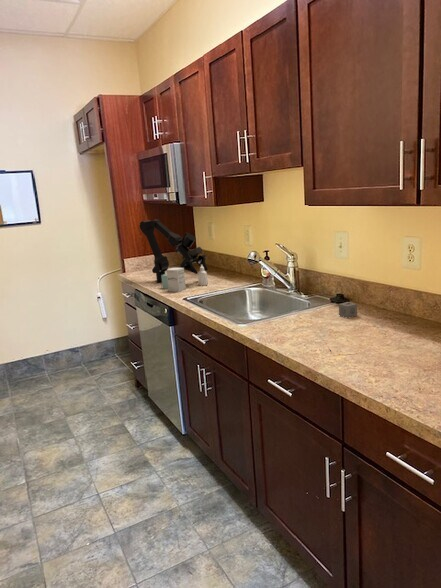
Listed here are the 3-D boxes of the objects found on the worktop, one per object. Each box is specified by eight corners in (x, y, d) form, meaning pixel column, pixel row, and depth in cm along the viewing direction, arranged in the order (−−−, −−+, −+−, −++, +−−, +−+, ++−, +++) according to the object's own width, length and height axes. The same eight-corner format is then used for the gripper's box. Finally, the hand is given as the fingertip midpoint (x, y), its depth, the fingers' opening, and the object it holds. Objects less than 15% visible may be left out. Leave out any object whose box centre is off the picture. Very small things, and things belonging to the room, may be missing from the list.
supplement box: (168, 291, 255) (165, 269, 253) (175, 288, 262) (173, 267, 259) (179, 292, 252) (177, 269, 249) (186, 289, 258) (184, 267, 255)
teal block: (162, 288, 265) (161, 275, 263) (168, 286, 269) (167, 273, 267) (168, 289, 262) (167, 275, 260) (174, 287, 266) (173, 274, 264)
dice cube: (357, 315, 184) (356, 303, 183) (348, 318, 182) (347, 306, 181) (347, 313, 188) (347, 301, 187) (339, 315, 186) (338, 304, 185)
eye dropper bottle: (201, 286, 263) (199, 265, 260) (198, 284, 268) (196, 264, 265) (208, 285, 264) (206, 264, 261) (205, 283, 269) (203, 263, 266)
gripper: (181, 245, 256) (198, 265, 252) (202, 240, 271) (219, 259, 267) (173, 259, 263) (189, 278, 259) (193, 253, 277) (209, 272, 273)
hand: (202, 271), depth 264 cm, fingers open, 9 cm apart
